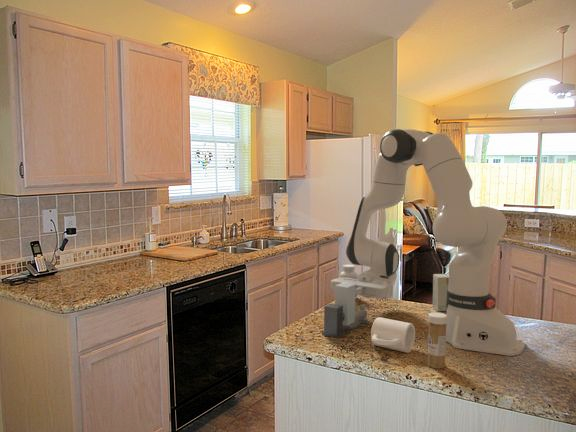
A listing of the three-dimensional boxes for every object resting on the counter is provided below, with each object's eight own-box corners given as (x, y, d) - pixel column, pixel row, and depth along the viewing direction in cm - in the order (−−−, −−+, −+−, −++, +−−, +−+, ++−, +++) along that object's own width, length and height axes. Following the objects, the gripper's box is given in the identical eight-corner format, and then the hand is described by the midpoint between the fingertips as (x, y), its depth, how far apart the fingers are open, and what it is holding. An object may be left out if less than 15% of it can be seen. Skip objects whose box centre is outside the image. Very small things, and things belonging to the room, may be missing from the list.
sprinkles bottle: (423, 363, 124) (424, 312, 123) (437, 360, 126) (439, 310, 124) (435, 370, 120) (436, 318, 118) (449, 367, 122) (451, 315, 120)
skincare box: (449, 311, 169) (450, 277, 168) (437, 311, 169) (438, 277, 168) (444, 306, 175) (445, 273, 174) (432, 306, 175) (432, 273, 174)
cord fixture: (367, 321, 158) (368, 294, 157) (339, 338, 142) (339, 309, 142) (351, 318, 161) (351, 292, 161) (321, 334, 146) (322, 305, 145)
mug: (382, 340, 141) (382, 314, 140) (415, 347, 135) (415, 320, 135) (363, 353, 131) (364, 324, 131) (398, 361, 126) (398, 332, 125)
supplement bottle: (356, 300, 183) (356, 267, 182) (339, 300, 184) (339, 267, 183) (357, 296, 189) (358, 264, 188) (340, 295, 191) (341, 263, 189)
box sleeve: (354, 321, 152) (355, 284, 151) (347, 325, 148) (347, 287, 147) (342, 319, 155) (342, 282, 153) (334, 323, 150) (335, 285, 149)
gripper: (341, 271, 169) (321, 278, 158) (396, 278, 157) (378, 287, 146) (341, 288, 170) (321, 297, 159) (396, 297, 158) (378, 307, 147)
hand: (349, 292), depth 152 cm, fingers closed, pressing on box sleeve
